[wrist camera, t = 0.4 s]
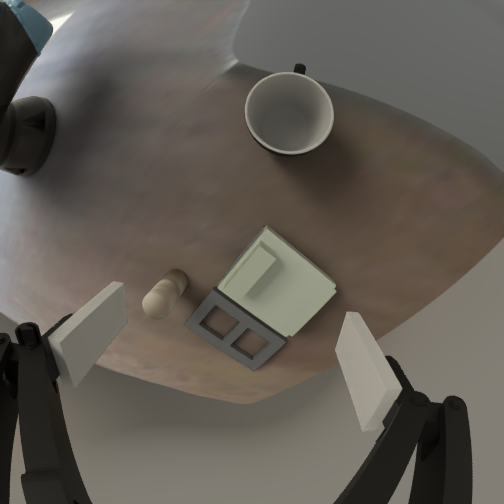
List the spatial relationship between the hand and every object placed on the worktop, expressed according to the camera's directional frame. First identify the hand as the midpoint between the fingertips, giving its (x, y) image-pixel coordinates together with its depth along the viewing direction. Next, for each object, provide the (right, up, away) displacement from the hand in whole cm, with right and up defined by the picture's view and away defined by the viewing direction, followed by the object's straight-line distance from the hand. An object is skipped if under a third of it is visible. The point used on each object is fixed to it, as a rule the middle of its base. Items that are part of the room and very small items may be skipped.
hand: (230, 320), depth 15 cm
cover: (+5, 0, +23) cm, 23 cm away
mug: (+6, +22, +18) cm, 29 cm away
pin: (-10, 0, +25) cm, 27 cm away
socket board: (-1, -8, +27) cm, 28 cm away
